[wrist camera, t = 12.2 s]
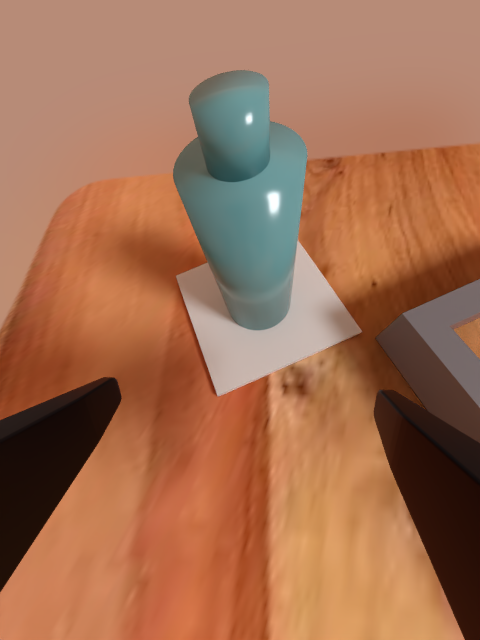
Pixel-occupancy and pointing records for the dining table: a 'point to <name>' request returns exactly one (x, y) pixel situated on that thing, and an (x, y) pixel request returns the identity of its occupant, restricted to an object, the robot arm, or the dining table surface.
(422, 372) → the frame
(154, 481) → the dining table surface
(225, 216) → the teal bottle
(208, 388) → the dining table surface
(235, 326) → the white mat
